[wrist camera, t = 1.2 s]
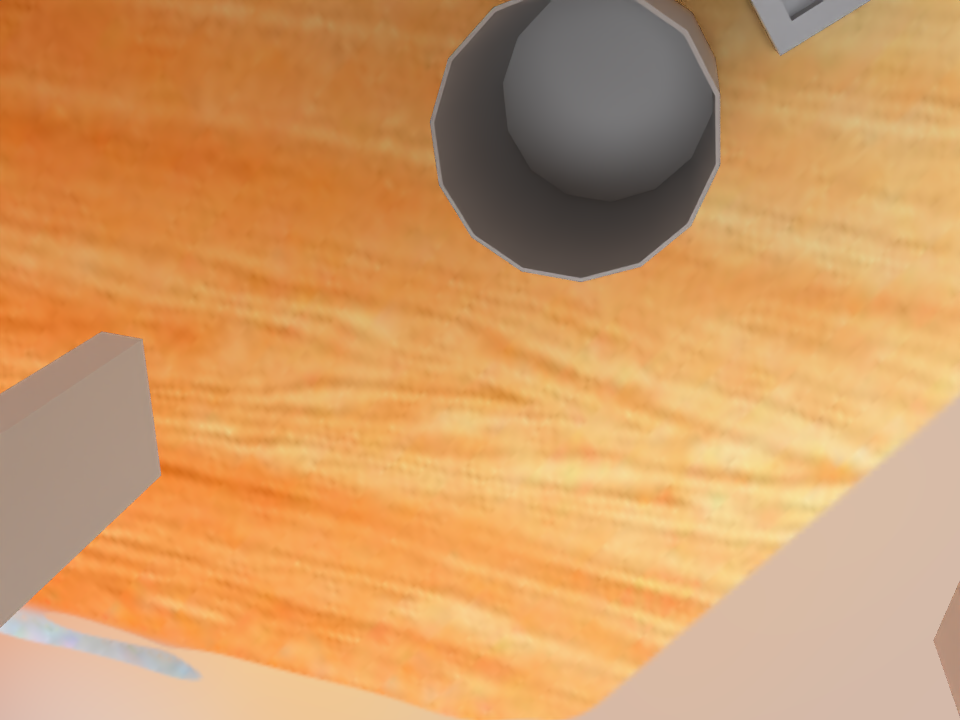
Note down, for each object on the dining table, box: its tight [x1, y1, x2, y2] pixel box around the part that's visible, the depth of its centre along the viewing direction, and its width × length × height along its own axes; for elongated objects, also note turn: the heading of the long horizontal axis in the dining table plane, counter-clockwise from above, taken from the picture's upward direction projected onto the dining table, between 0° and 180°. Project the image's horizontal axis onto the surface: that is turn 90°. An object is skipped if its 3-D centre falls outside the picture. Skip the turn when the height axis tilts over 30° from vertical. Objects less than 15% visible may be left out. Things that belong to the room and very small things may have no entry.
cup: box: [430, 0, 720, 282], centre depth 28 cm, size 8×8×10 cm
